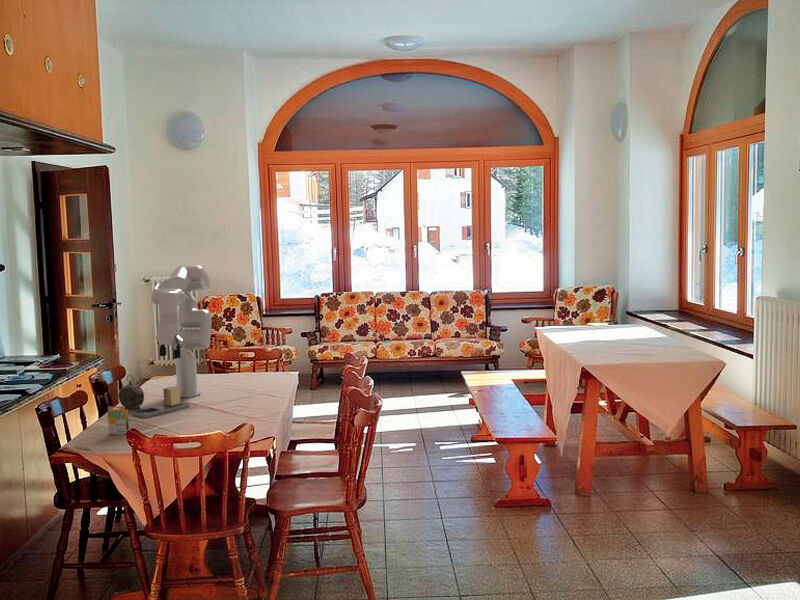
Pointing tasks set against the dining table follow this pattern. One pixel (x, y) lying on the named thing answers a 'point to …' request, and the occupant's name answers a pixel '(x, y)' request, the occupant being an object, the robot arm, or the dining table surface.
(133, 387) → the alarm clock
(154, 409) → the divided tray
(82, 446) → the dining table surface
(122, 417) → the crayon box
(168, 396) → the brushed gold block
